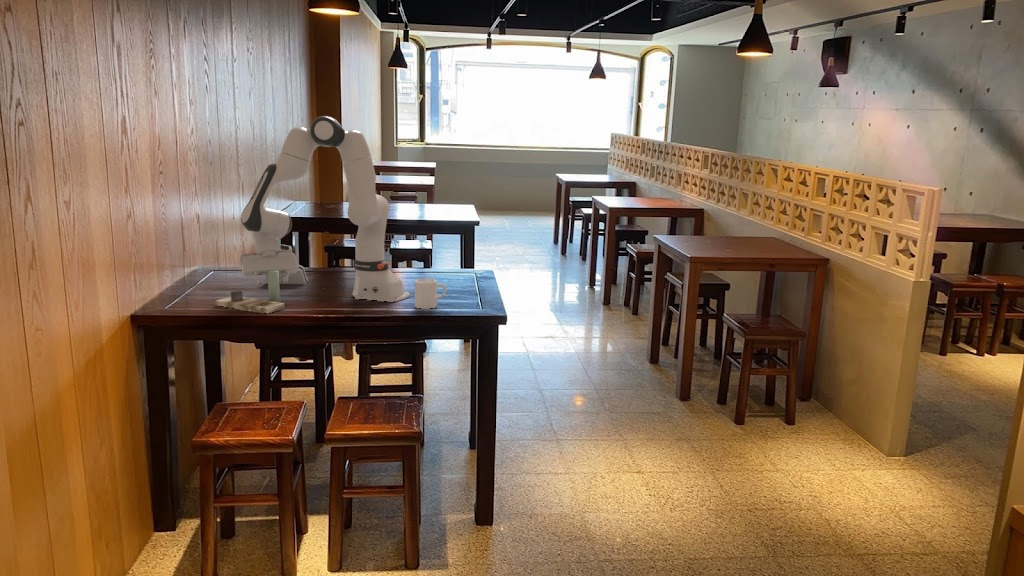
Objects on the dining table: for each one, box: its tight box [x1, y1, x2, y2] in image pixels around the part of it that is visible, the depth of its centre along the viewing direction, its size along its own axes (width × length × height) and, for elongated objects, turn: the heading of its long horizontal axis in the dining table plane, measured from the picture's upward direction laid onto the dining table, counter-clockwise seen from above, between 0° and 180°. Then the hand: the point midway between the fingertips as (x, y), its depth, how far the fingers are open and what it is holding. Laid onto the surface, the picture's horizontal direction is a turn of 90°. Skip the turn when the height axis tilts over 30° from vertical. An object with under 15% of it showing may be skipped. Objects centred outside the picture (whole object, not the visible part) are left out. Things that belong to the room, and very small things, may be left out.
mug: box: [414, 278, 448, 310], centre depth 273 cm, size 8×12×10 cm
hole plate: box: [214, 290, 286, 315], centre depth 267 cm, size 24×9×5 cm, turn 67°
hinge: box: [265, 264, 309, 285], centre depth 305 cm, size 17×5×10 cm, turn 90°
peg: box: [267, 270, 281, 302], centre depth 274 cm, size 4×4×12 cm
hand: (273, 282), depth 274 cm, fingers open, 8 cm apart
